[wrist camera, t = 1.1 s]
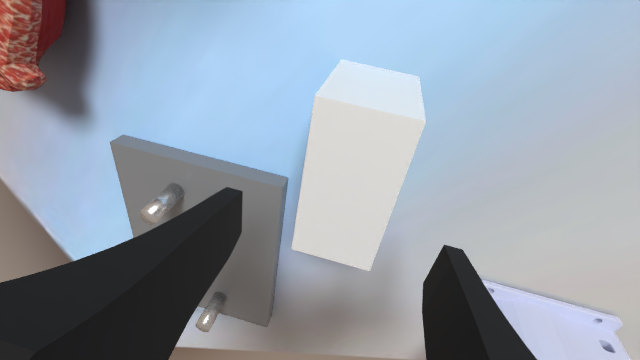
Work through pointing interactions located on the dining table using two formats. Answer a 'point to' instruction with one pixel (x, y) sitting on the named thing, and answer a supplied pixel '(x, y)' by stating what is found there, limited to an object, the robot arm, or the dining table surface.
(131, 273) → the robot arm
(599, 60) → the dining table surface
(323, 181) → the block
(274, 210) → the pin tray
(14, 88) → the dish
